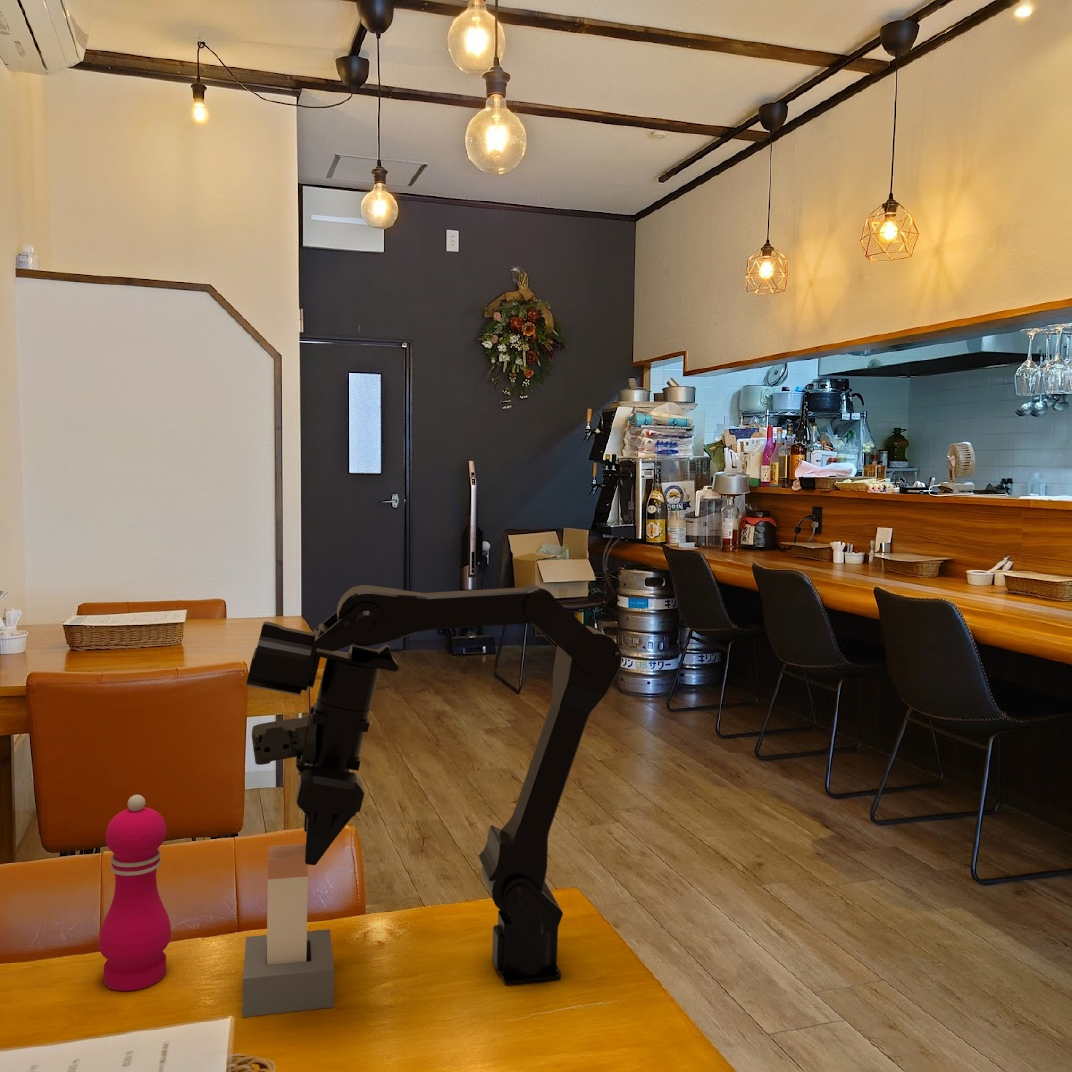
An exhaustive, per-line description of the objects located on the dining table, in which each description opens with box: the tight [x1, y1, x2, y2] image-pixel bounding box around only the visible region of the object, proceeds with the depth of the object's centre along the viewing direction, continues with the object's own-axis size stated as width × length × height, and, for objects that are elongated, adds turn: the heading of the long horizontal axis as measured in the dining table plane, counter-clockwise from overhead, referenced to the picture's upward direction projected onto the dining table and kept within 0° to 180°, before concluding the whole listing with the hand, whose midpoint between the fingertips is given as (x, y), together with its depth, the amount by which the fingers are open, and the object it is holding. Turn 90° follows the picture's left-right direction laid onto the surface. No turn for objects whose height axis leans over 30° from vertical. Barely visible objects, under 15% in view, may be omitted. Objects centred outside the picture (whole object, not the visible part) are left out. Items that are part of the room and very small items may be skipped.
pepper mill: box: [98, 794, 172, 992], centre depth 102 cm, size 7×7×20 cm
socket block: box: [241, 928, 335, 1018], centre depth 101 cm, size 9×9×4 cm
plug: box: [266, 842, 309, 966], centre depth 101 cm, size 4×4×15 cm
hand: (309, 847), depth 100 cm, fingers open, 9 cm apart
